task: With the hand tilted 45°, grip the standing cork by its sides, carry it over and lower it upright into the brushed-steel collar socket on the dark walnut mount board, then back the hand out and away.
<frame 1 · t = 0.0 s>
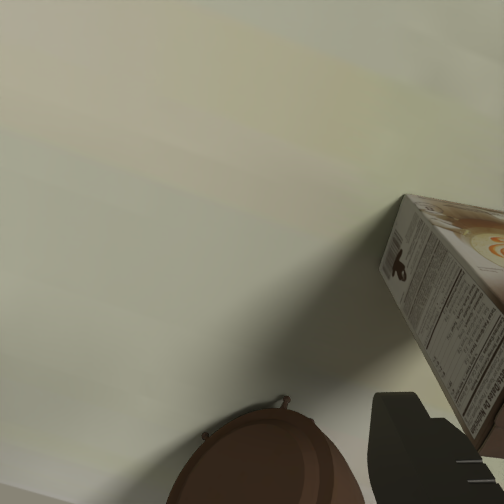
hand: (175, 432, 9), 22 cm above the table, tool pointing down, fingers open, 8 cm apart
alarm clock: (260, 425, 41), on the table
coffee box: (447, 241, 33), on the table
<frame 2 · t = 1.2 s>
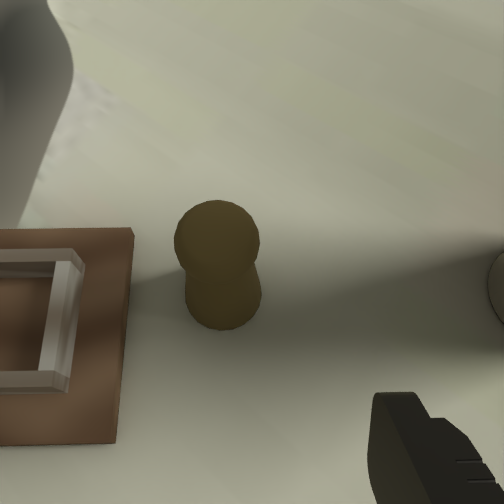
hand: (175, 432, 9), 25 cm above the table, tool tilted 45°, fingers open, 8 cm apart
cork: (223, 293, 37), on the table
mount board: (19, 331, 35), on the table
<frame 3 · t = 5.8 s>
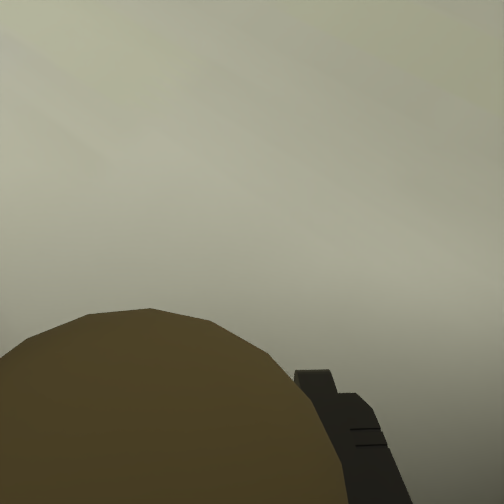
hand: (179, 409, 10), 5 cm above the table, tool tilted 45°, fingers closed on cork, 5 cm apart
cork: (198, 494, 14), on the table, touching gripper
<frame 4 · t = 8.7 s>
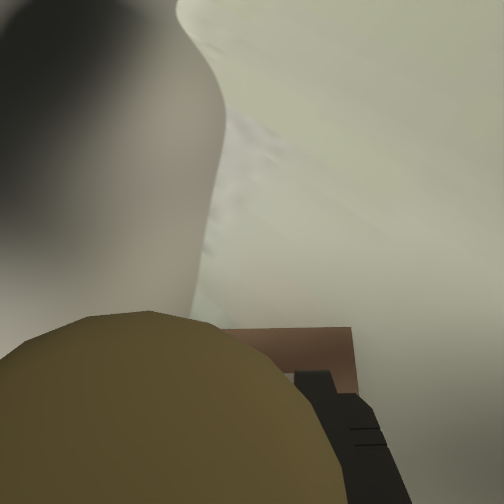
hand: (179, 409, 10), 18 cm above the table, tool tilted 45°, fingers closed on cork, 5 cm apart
cork: (197, 496, 14), point 13 cm above the table, touching gripper
mount board: (217, 478, 26), on the table
when the fingers open (7 cm above the table, at t = 11.5 s): cork stays where it is, resting on mount board.
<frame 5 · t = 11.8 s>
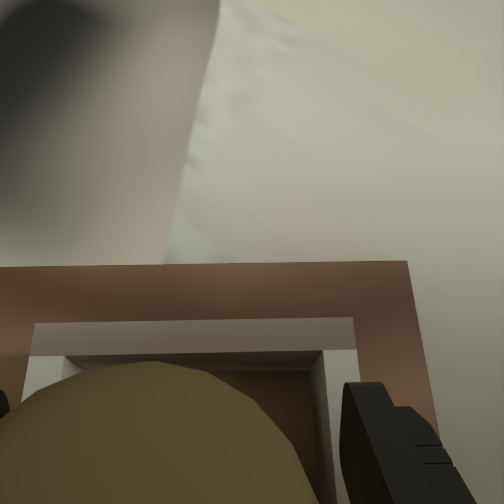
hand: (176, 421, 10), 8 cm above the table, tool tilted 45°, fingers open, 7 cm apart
mount board: (203, 492, 16), on the table
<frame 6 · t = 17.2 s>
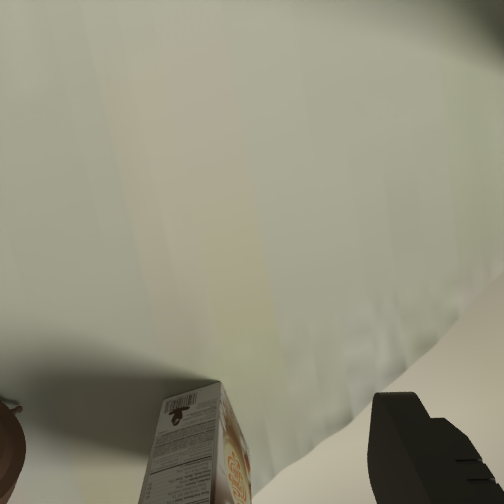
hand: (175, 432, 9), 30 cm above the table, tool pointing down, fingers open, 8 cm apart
coffee box: (207, 423, 46), on the table
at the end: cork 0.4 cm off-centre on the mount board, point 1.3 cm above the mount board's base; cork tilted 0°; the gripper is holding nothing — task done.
